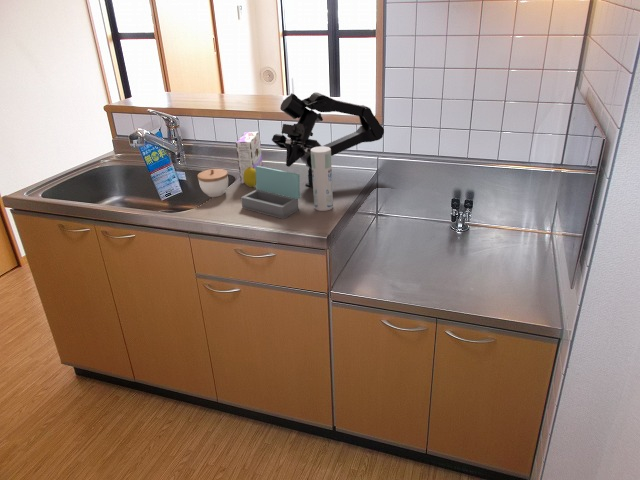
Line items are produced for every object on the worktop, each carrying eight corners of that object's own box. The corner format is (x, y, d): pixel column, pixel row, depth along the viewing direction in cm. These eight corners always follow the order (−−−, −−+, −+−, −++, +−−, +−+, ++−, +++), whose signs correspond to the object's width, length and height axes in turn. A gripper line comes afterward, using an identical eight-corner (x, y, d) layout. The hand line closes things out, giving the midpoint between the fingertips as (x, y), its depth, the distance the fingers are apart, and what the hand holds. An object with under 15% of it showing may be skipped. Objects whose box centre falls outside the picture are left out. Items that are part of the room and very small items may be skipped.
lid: (256, 189, 179) (257, 188, 179) (298, 198, 169) (299, 198, 170) (255, 166, 176) (256, 165, 176) (297, 174, 166) (299, 174, 166)
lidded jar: (197, 200, 183) (193, 175, 179) (204, 188, 193) (200, 165, 189) (227, 198, 183) (224, 173, 179) (232, 187, 193) (229, 163, 188)
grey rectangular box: (258, 199, 180) (256, 189, 179) (298, 209, 171) (297, 198, 169) (242, 208, 175) (241, 197, 173) (283, 218, 165) (282, 207, 163)
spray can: (332, 211, 169) (329, 152, 159) (312, 210, 170) (308, 152, 160) (334, 203, 174) (332, 146, 165) (315, 203, 175) (312, 146, 166)
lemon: (258, 190, 189) (256, 169, 185) (243, 190, 189) (240, 170, 185) (260, 184, 194) (258, 164, 190) (245, 185, 194) (243, 164, 190)
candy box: (249, 171, 208) (244, 131, 200) (263, 171, 207) (259, 131, 199) (240, 183, 196) (234, 141, 188) (255, 183, 195) (250, 141, 187)
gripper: (272, 111, 177) (254, 151, 174) (315, 116, 167) (297, 158, 164) (288, 127, 186) (271, 166, 183) (330, 133, 176) (313, 174, 173)
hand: (287, 166), depth 176 cm, fingers closed
